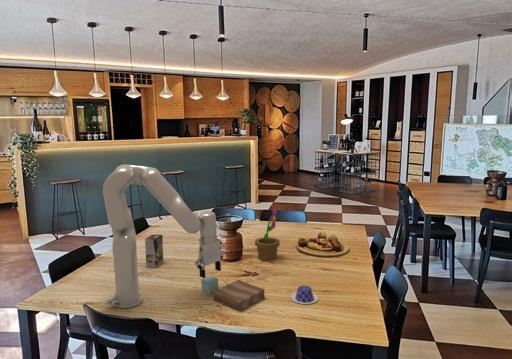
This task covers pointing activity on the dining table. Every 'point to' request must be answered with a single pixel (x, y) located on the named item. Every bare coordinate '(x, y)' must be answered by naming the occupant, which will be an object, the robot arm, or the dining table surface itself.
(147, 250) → the coffee box
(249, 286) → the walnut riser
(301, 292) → the pudding
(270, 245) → the flowerpot
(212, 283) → the teal cube
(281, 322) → the dining table surface
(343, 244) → the wooden plate with food
